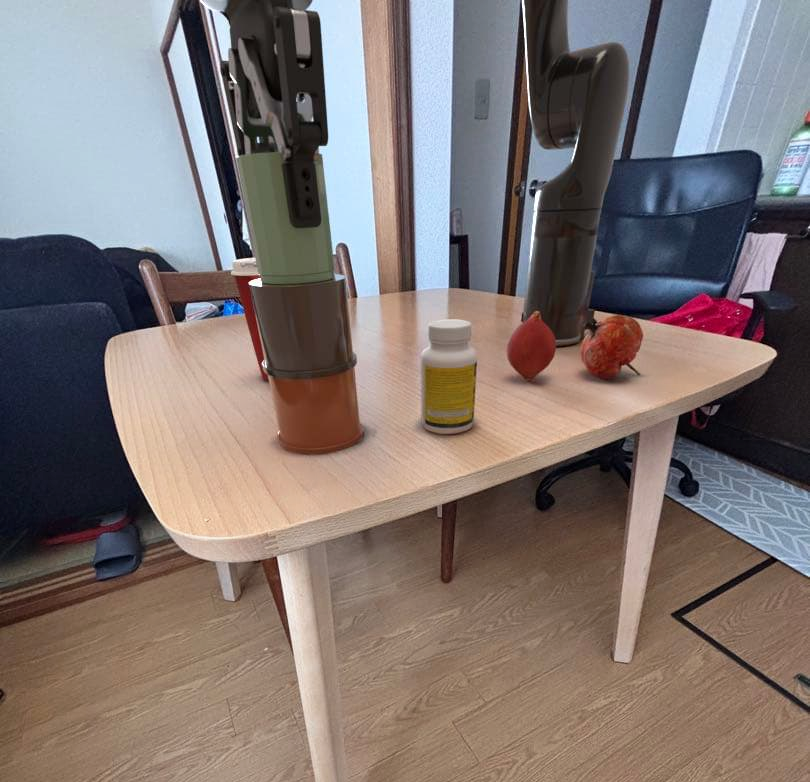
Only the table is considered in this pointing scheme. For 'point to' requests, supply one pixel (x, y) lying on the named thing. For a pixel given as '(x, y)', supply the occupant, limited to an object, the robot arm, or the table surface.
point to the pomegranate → (611, 345)
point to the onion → (531, 347)
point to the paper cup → (249, 302)
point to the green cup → (283, 224)
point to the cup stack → (309, 363)
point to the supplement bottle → (448, 377)
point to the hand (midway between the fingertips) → (290, 226)
